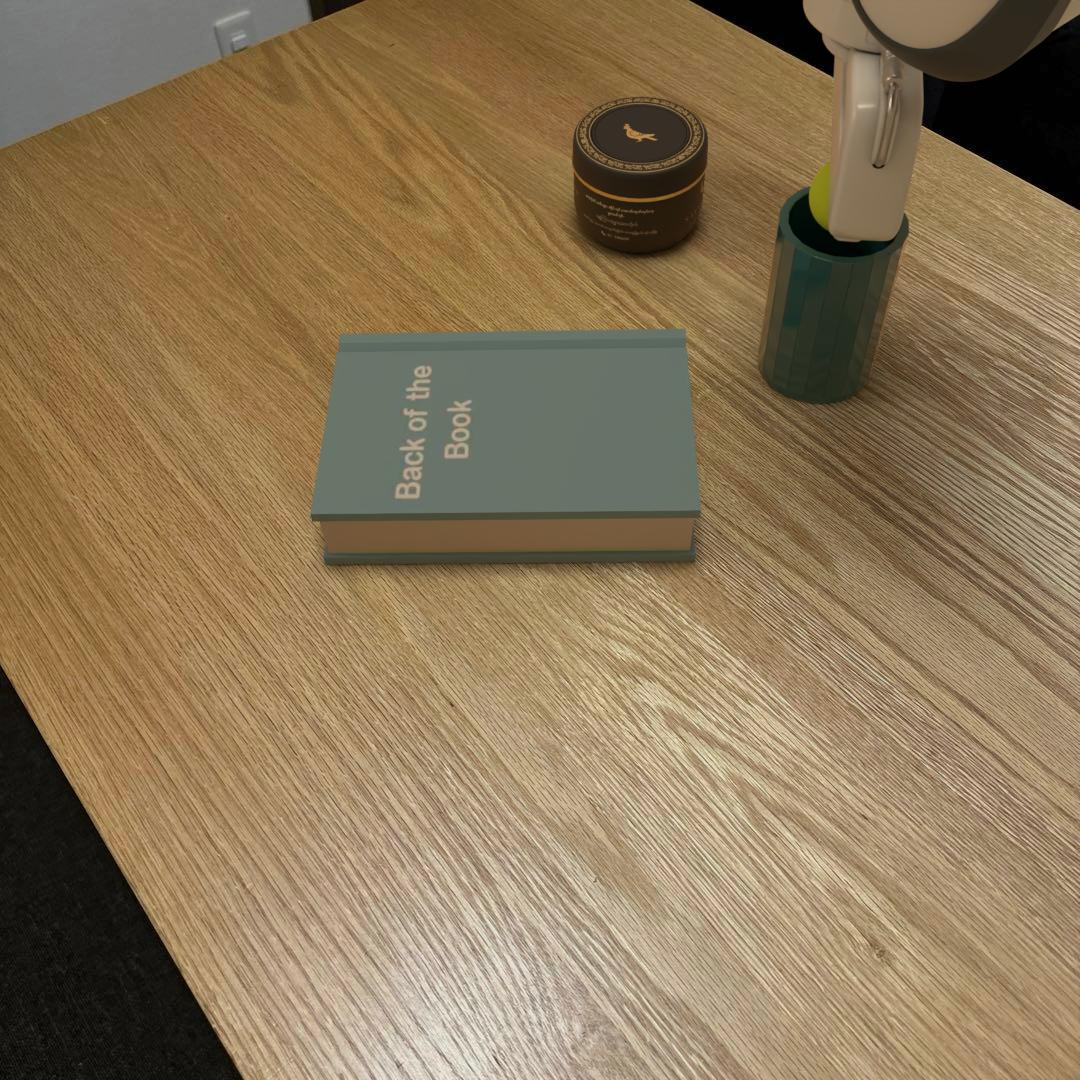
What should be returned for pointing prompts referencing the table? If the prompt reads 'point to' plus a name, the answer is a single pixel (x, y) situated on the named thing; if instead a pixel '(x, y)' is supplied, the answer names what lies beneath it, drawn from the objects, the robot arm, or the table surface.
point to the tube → (824, 306)
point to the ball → (820, 196)
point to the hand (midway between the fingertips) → (848, 203)
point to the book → (509, 448)
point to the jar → (639, 173)
